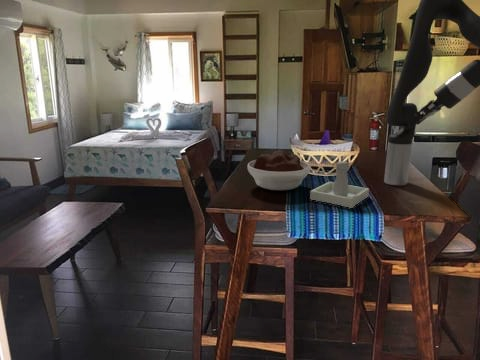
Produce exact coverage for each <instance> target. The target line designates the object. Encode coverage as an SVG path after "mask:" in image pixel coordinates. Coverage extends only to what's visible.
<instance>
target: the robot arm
mask: <svg viewBox="0 0 480 360" xmlns="http://www.w3.org/2000/svg"><path fill="white" fill-rule="evenodd" d="M440 20H448V21H451V22H452V23H455V24H456V25H457V27H458V29H459V33H460V34H461V36H462V37H463V38H464V39H465V40H466V41H468V42H469V43H471V44H472V45H473V46H475V47H477V48H478V49H480V15H479V14H477V13H476V12H475V11H474V10H472V8H471V7H469V6H468V5H467V3H465V2H464V0H420V1H419V4H418V7H417V12H416V16H415V21H414V26H413V31H412V35H411V39H410V42H409V46H408V49H407V51H406V56H405V57H404V62H403V64H402V67H401V71H400V75H399V79H398V82H397V84H396V88H395V90H394V93H393V95H392V96H391V100H390V102H389V105H388V108H387V111H386V115H385V119H386V123H387V125H389V126H391V127H400V129H399V130H397V131H396V132H393V133H391V134H389V135H388V139H387V141H388V142H387V150H386V160H385V167H384V168H385V170H384V179H383V182H384V183H385V184H387V185H392V186H407V184H408V180H409V172H410V163H411V156H412V147H413V141H414V140H413V139H414V137H415V133H416V128H417V127H416V126H417V125H419V124H421V123H422V122H423V121H425V120H426V119H427V118H430V117H433V116H434V115H435V114H436V113H438V112H440V111H441V110H442V108H443V107H445V108H446V109H452V108H453V107H455V106H456V105H458V104H459V103H460V102H461V101H463V100H464V99H465V98H467V97H468V96H469V95H471V94H472V93H473V92H474V91H475V90H476V89H477V88H478V87H480V59H475V60H472V61H471V62H470V63H468V64H467V65H466V66H465V67H463V68H462V69H461V70H460V71H458V72H457V73H456V74H454V75H453V76H450V78H449V79H447V81H445V82H444V83H442V84H441V85H440V86H439V87H438V88H436V89H435V90H434V91H433V93H434V96H435V97H436V99H435V100H434V99H432V100H429V101H428V103H427V104H425V105H424V106H423V107H422V108H420V109H419V111H418V107H417V105H416V104H415V103H413V102H405V101H406V100H407V97H408V96H409V95H410V94H411V93H412V92H413V91H414V90H415V89H416V88H418V86H419V85H420V84H421V83H422V82H423V81H424V80H425V79H426V78H427V75H428V73H429V70H430V69H431V65H432V62H433V50H432V46H431V43H430V33H431V29H432V26H433V23H434V21H440Z"/></svg>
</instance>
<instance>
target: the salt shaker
mask: <svg viewBox="0 0 480 360" xmlns="http://www.w3.org/2000/svg"><path fill="white" fill-rule="evenodd" d="M349 167H350V164H349V162H348V161H346V160H345V161H343V160H342V161H341V160H340V161H337V163H336V168H337V172H336V176H335V180H334V187H333V192H334V195H338V196H343V197H346V196H347V195H348V193H349V185H350V184H349V177H348V169H349Z"/></svg>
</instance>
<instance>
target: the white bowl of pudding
mask: <svg viewBox="0 0 480 360" xmlns="http://www.w3.org/2000/svg"><path fill="white" fill-rule="evenodd" d="M246 167H247V171H248V173H249V174H250V176H252V177H253V180H254V182H255V184H256V185H257V186H258V187H260V188H262V189H265V190H270V191H289V190H290V191H291V190H294V189H296V188H298V187H300V186H301V184H302V182H303V180H304V179H305V178H306V177H308V174H310V171H311V166H310V164H309V163H307V162H306V161H304V160H301V158H300V156H299V155H297V154H295V153H294V154H289V155H288V154H287V153H286V152H285V151H284V150H282V149H278V150H276V151H273V152H272V154H268V153H266V154H264V153H262V154H260V155H259V156H257V158H256V159H254V160H251V161H249V162H248V163H247V166H246Z"/></svg>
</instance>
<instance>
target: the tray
mask: <svg viewBox="0 0 480 360" xmlns="http://www.w3.org/2000/svg"><path fill="white" fill-rule="evenodd" d="M334 183H335V181H328V182H326V183H324V184H322V185H320V186H318V187H315V188H314V189H311V190H310V191H309V194H310V196H309V200H310V199H311V200H310V201H312V200H316V201H315V202H317V201H322V202H327V203H332V204H337V205H341V206H345V207H349V208H348V209H350V208H353V207H354V206H355V205H356V204H358V203H359V202H360V201H362V200H364V199H365V198H367V197H368V198H369V196H370V195H369V192H370V188H367V187H362V186H356V185H351V184H348V185H349V193H348V195H347V196H346V197H343V196H338V195H334V192H333V187H334ZM368 198H367V199H368ZM364 201H365V200H364ZM358 205H359V204H358ZM345 207H344V208H345ZM355 207H356V206H355ZM355 207H354V208H355ZM354 208H353V209H354Z"/></svg>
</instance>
